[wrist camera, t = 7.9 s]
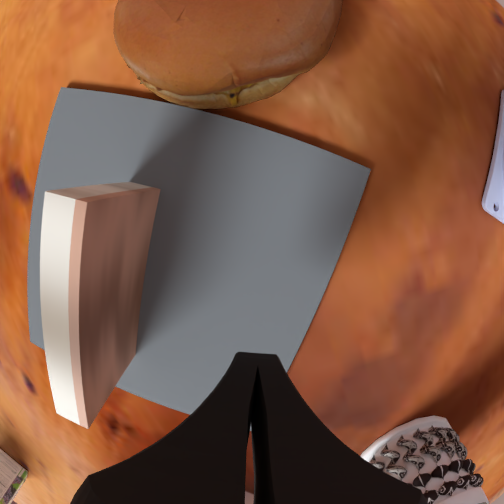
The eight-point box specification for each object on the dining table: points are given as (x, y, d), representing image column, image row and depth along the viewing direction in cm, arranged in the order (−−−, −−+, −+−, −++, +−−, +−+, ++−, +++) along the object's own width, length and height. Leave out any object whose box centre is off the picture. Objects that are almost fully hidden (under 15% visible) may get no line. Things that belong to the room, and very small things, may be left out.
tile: (135, 354, 15) (88, 429, 9) (110, 345, 15) (56, 413, 9) (160, 189, 13) (87, 202, 7) (129, 181, 12) (44, 191, 7)
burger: (177, 148, 13) (136, 134, 8) (114, 15, 11) (73, -24, 6) (368, 66, 11) (409, 27, 7) (277, -53, 9) (281, -105, 5)
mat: (367, 169, 12) (370, 169, 12) (255, 427, 16) (254, 431, 16) (65, 88, 12) (61, 87, 11) (33, 338, 16) (30, 341, 15)
